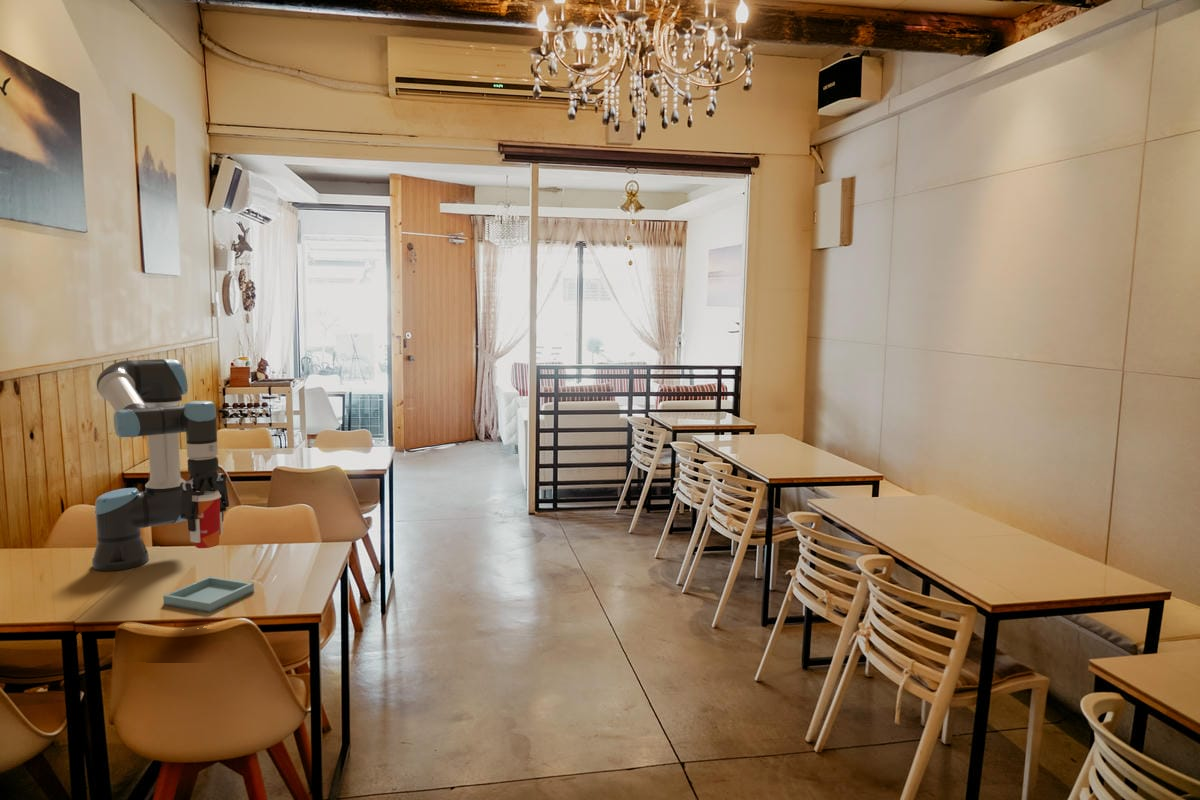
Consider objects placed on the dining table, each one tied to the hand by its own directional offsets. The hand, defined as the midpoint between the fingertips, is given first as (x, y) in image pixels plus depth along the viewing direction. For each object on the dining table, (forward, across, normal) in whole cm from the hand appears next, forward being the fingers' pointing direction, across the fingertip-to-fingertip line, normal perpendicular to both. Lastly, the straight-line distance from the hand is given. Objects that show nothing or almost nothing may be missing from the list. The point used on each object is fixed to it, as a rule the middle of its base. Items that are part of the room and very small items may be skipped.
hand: (206, 537), depth 209 cm
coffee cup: (+2, 0, 0) cm, 2 cm away
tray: (+18, 0, 0) cm, 18 cm away
